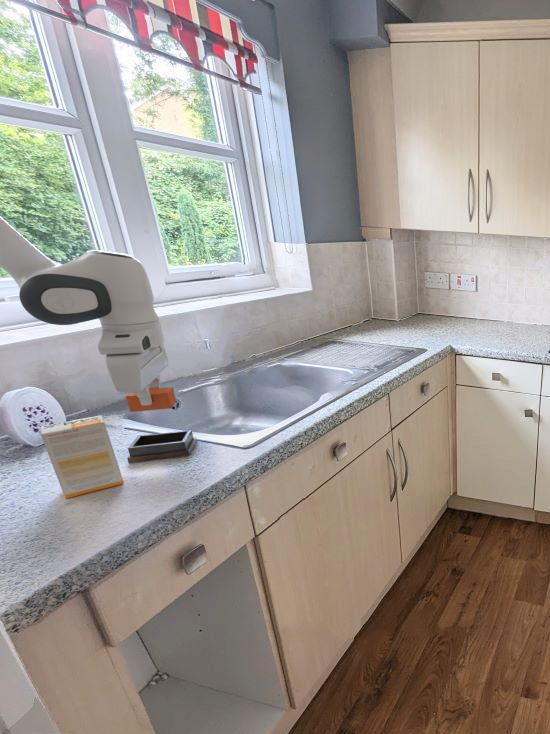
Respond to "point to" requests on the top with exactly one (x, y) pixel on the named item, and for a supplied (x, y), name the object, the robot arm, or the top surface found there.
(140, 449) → the dark grey tray
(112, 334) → the robot arm
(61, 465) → the supplement box
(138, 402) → the block
